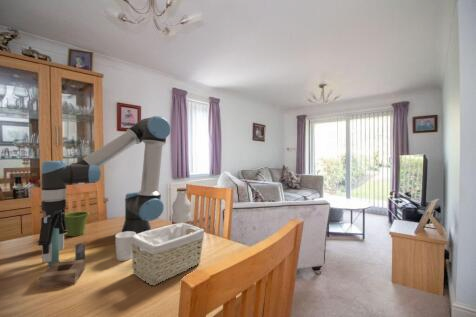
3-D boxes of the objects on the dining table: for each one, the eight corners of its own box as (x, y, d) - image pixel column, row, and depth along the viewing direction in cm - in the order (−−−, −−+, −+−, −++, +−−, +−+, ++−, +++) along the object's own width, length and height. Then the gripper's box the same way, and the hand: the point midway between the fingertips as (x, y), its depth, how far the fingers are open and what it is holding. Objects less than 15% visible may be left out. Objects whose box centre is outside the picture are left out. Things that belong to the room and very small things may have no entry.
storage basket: (181, 252, 101) (181, 220, 101) (205, 264, 91) (206, 228, 91) (128, 274, 82) (128, 234, 82) (151, 291, 72) (152, 246, 72)
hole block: (84, 269, 85) (84, 259, 85) (74, 284, 75) (75, 272, 75) (53, 273, 82) (53, 262, 82) (38, 289, 72) (38, 277, 72)
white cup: (114, 263, 90) (115, 238, 90) (115, 255, 97) (115, 232, 97) (135, 259, 94) (136, 235, 94) (135, 252, 101) (135, 230, 101)
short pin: (85, 259, 93) (86, 242, 93) (83, 262, 90) (83, 245, 90) (77, 260, 92) (77, 243, 92) (74, 263, 89) (74, 246, 89)
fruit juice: (185, 248, 105) (186, 190, 105) (167, 246, 107) (168, 189, 107) (193, 241, 115) (194, 187, 114) (176, 239, 117) (177, 186, 116)
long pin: (60, 262, 90) (60, 228, 90) (56, 265, 87) (56, 230, 87) (50, 263, 89) (50, 228, 89) (46, 267, 86) (46, 231, 86)
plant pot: (93, 233, 123) (93, 213, 123) (67, 240, 113) (67, 218, 113) (83, 229, 129) (83, 210, 129) (58, 235, 119) (58, 214, 119)
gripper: (55, 194, 98) (55, 245, 98) (25, 206, 76) (25, 270, 76) (75, 194, 100) (75, 243, 100) (51, 205, 78) (51, 267, 79)
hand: (53, 255), depth 88 cm, fingers open, 10 cm apart
